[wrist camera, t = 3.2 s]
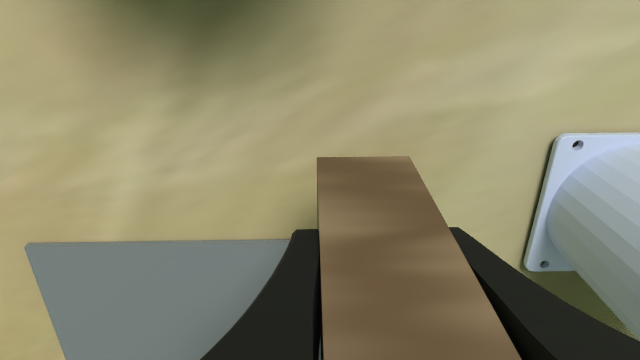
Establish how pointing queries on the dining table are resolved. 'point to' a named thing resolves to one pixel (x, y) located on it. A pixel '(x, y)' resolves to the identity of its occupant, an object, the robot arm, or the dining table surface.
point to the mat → (149, 294)
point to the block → (395, 270)
